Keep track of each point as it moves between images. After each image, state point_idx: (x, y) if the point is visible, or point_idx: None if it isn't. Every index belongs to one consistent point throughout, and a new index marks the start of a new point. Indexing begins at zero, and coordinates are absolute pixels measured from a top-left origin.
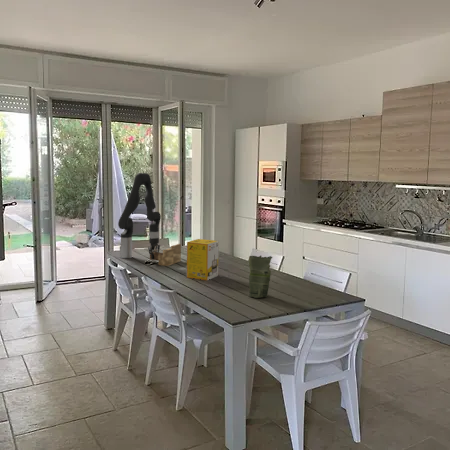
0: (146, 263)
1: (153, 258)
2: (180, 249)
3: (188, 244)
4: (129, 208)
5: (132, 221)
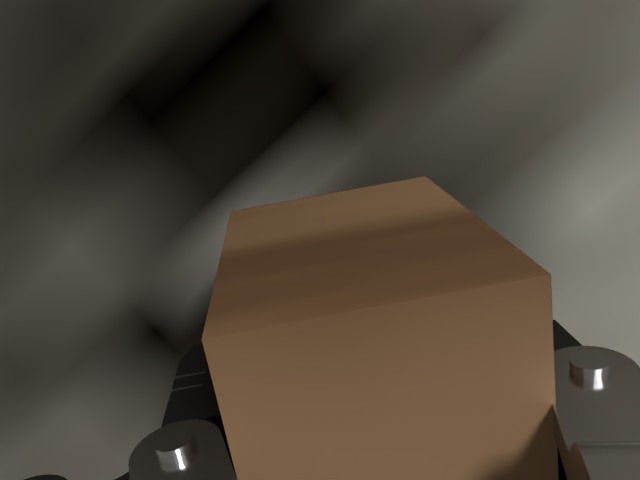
0: (137, 126)
1: None
2: None
3: None
4: None
5: None
